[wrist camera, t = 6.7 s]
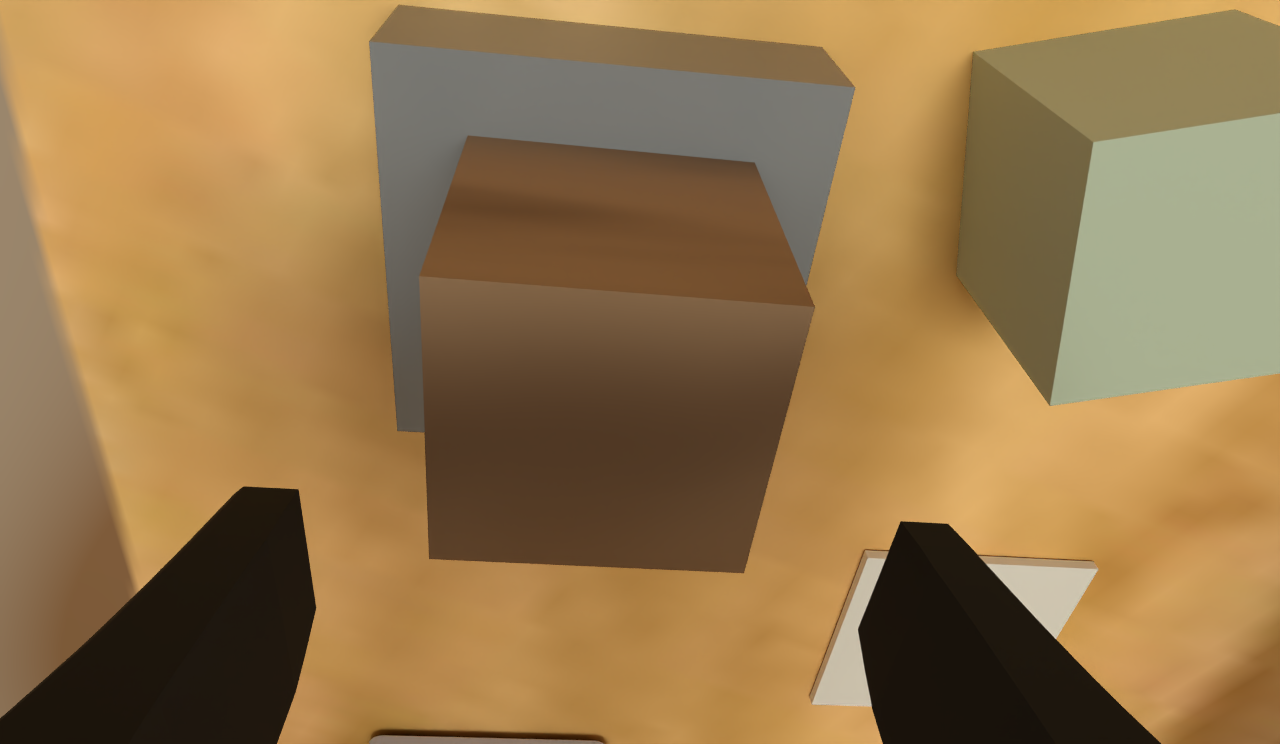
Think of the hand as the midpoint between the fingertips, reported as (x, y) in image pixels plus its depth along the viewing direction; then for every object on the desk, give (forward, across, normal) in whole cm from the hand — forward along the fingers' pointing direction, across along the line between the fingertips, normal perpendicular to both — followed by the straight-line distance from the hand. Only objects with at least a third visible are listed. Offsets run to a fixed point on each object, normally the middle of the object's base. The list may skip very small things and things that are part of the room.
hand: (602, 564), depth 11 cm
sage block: (+10, -10, -3) cm, 14 cm away
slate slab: (+10, 0, 0) cm, 10 cm away
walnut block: (+7, 0, 0) cm, 7 cm away
